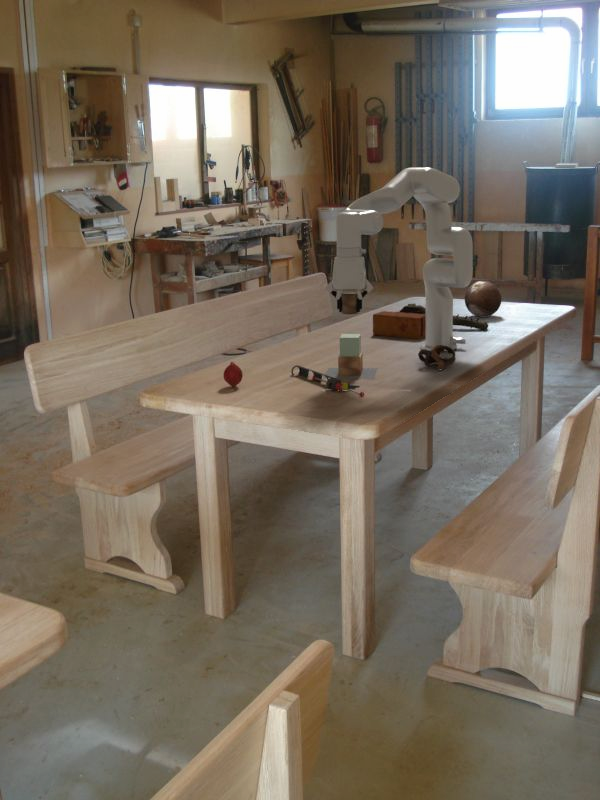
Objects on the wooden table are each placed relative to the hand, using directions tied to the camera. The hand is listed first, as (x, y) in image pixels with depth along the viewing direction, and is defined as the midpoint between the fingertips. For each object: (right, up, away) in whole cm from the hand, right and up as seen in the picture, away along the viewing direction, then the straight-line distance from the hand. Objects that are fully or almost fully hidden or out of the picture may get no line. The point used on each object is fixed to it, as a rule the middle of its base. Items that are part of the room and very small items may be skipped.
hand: (349, 311), depth 294 cm
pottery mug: (+29, -17, +11) cm, 36 cm away
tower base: (+1, -19, +5) cm, 20 cm away
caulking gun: (-5, -24, -8) cm, 26 cm away
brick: (+23, -4, +64) cm, 68 cm away
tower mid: (0, -13, +4) cm, 14 cm away
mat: (+1, -20, +5) cm, 20 cm away
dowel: (0, -1, 0) cm, 1 cm away
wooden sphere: (+60, +7, +97) cm, 114 cm away
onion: (-36, -24, -6) cm, 44 cm away
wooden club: (+38, 0, +75) cm, 84 cm away
